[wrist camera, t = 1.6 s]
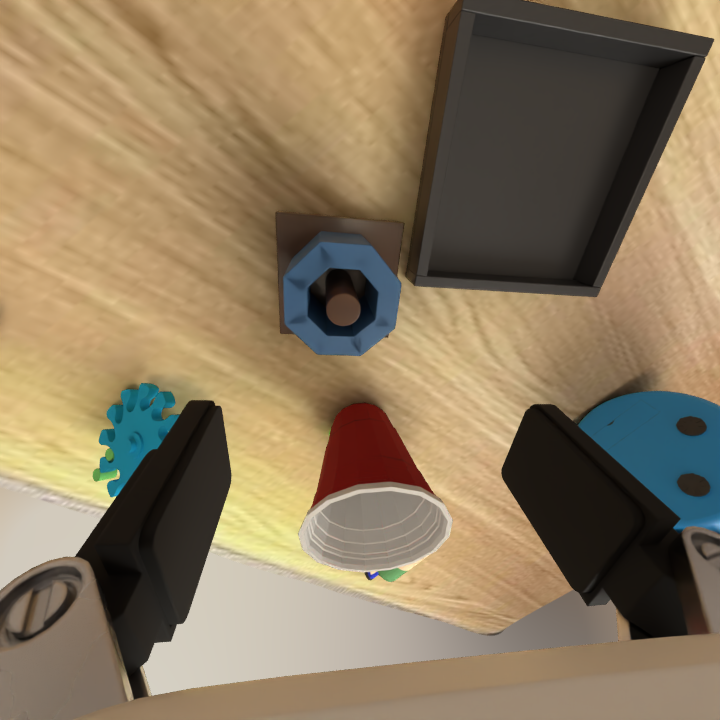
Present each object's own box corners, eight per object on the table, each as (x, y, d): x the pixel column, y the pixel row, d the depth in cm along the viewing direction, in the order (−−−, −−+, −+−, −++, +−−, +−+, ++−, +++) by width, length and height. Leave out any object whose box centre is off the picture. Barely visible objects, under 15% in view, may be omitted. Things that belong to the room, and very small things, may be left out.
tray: (445, 16, 18) (465, -13, 15) (667, 57, 20) (715, 38, 17) (405, 277, 25) (414, 286, 22) (572, 288, 27) (597, 297, 24)
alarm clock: (565, 463, 38) (692, 605, 25) (540, 440, 36) (668, 583, 22) (666, 396, 34) (879, 520, 21) (647, 365, 32) (874, 484, 19)
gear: (155, 361, 24) (183, 488, 21) (216, 368, 30) (245, 470, 27) (76, 417, 27) (91, 533, 25) (144, 414, 33) (163, 509, 30)
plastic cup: (288, 445, 32) (271, 568, 21) (338, 364, 28) (348, 466, 17) (375, 475, 35) (397, 593, 25) (431, 407, 31) (485, 513, 21)
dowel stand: (277, 210, 22) (257, 217, 15) (401, 221, 23) (433, 232, 16) (281, 329, 26) (267, 375, 19) (386, 333, 27) (406, 378, 20)
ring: (290, 228, 21) (281, 238, 16) (389, 236, 22) (407, 248, 17) (292, 322, 25) (285, 354, 20) (378, 326, 26) (391, 357, 21)
